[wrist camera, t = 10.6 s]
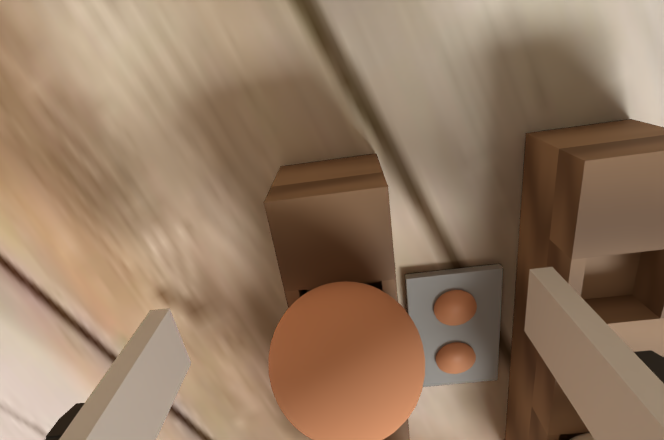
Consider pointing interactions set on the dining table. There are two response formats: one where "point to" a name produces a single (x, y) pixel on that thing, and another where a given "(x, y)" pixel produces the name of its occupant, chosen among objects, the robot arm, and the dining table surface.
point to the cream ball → (583, 437)
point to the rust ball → (346, 363)
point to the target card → (457, 322)
